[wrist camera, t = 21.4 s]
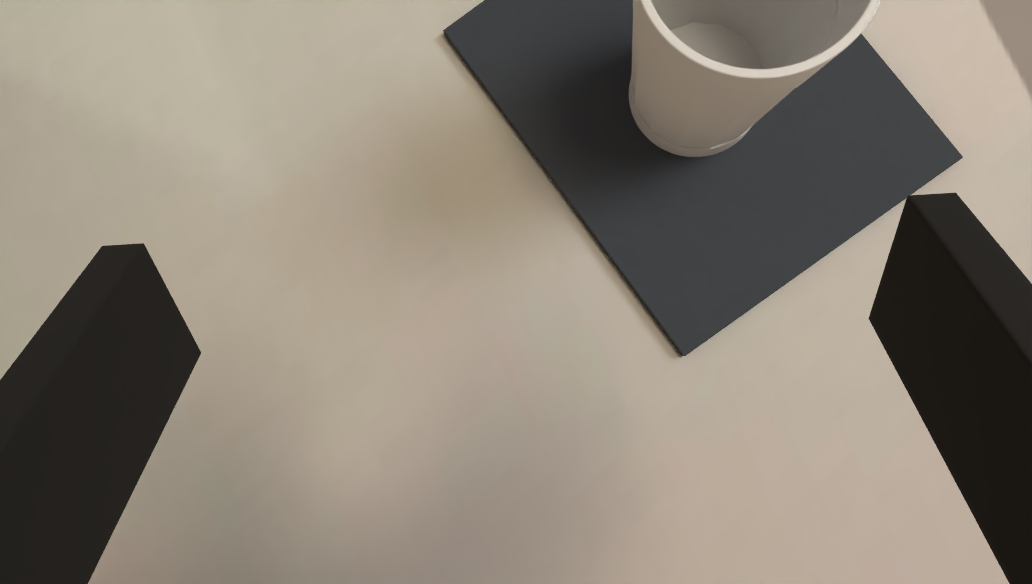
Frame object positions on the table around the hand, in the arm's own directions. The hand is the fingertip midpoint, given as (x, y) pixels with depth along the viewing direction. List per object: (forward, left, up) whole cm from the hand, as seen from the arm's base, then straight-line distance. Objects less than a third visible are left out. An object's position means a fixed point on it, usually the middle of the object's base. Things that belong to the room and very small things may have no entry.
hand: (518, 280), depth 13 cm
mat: (-5, +12, -22) cm, 26 cm away
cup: (-5, +12, -22) cm, 25 cm away
